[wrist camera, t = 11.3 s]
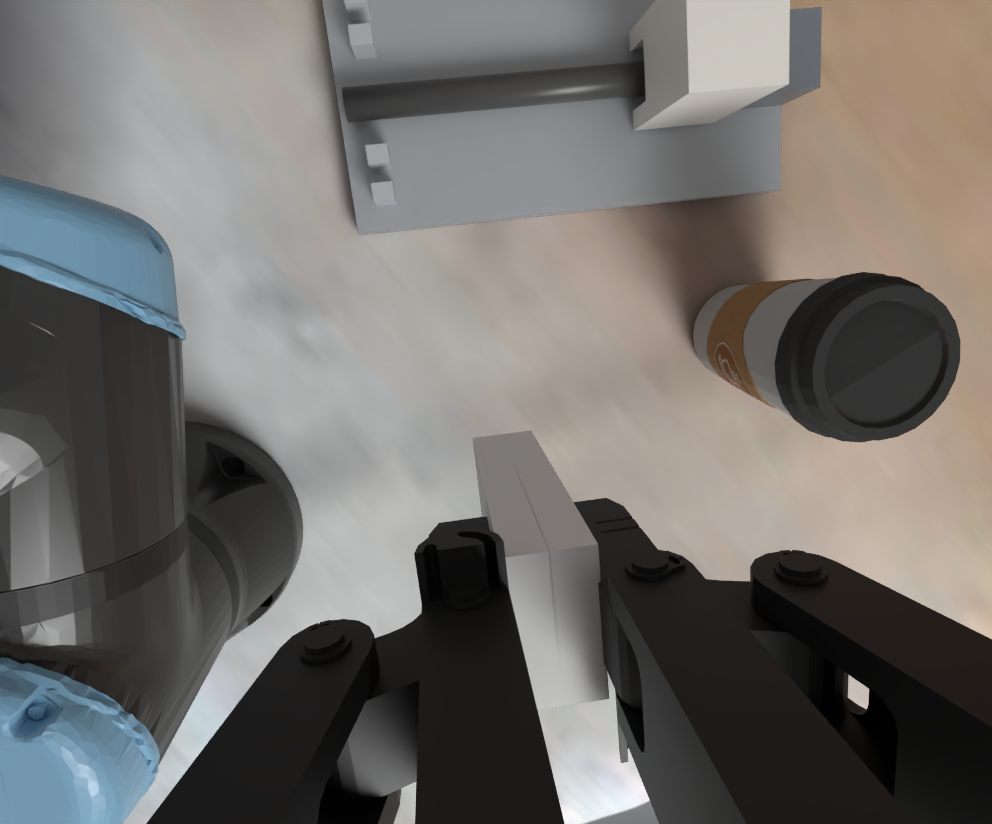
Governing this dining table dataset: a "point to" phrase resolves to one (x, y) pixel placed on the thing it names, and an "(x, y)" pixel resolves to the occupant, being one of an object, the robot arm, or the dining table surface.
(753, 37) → the cream rail slider block
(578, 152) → the sliding block rail
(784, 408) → the coffee cup
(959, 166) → the dining table surface
